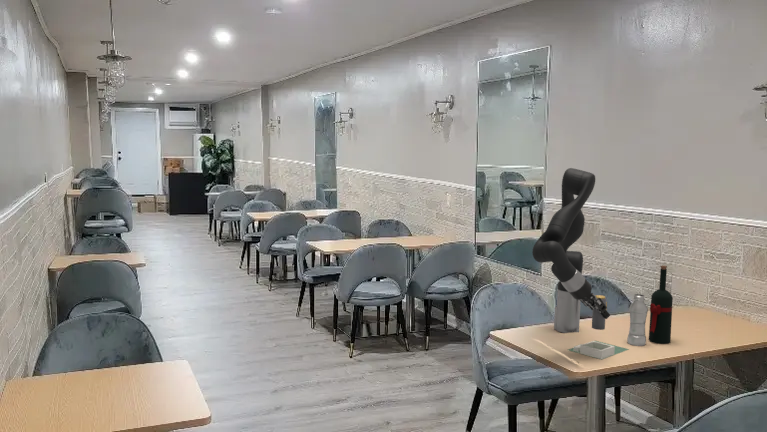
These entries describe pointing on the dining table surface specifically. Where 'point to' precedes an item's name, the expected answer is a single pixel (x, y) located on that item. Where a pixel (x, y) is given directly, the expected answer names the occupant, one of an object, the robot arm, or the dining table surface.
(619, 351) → the board
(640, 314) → the plastic bottle
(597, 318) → the dark grey cylinder
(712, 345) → the dining table surface
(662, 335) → the wine bottle
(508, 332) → the dining table surface
